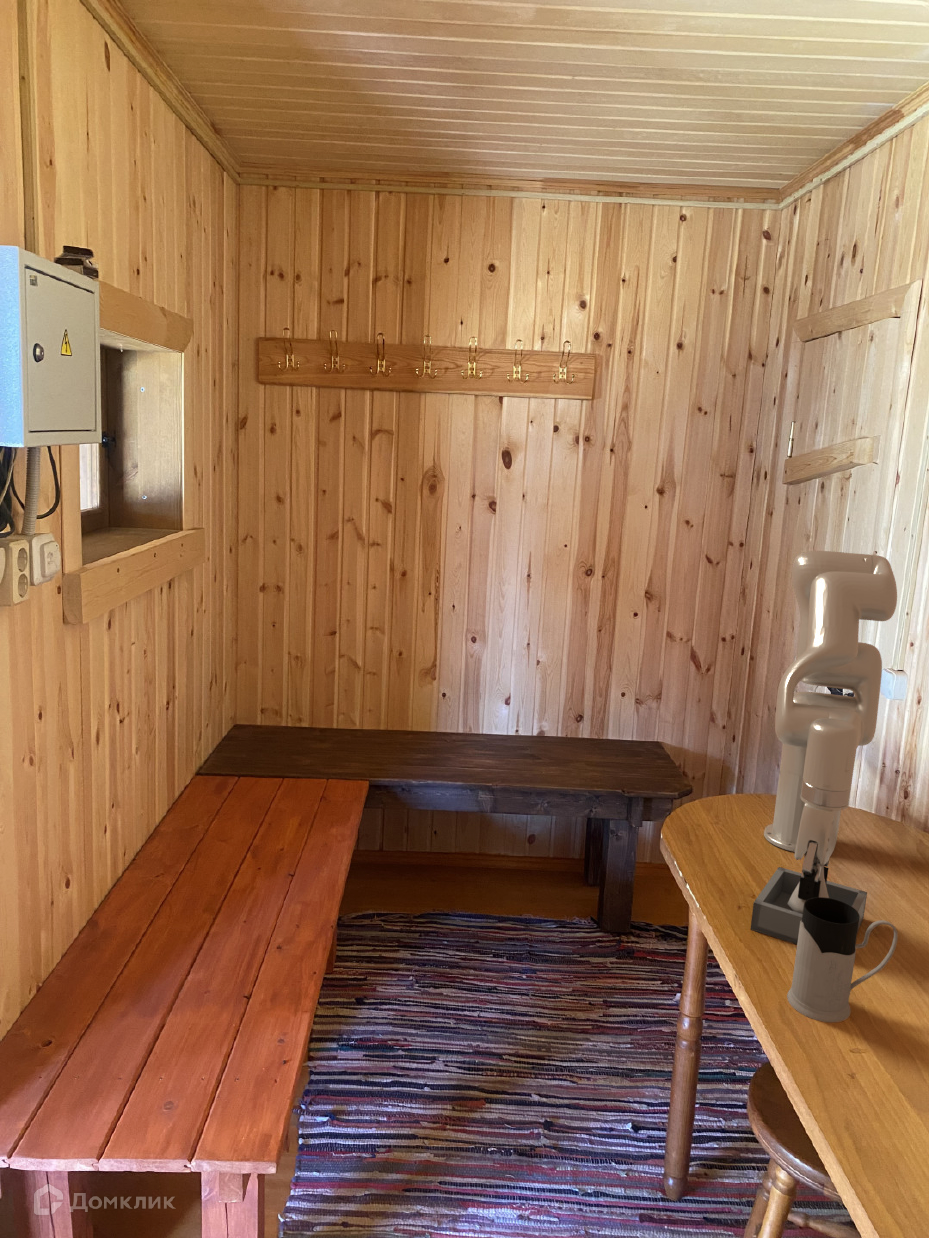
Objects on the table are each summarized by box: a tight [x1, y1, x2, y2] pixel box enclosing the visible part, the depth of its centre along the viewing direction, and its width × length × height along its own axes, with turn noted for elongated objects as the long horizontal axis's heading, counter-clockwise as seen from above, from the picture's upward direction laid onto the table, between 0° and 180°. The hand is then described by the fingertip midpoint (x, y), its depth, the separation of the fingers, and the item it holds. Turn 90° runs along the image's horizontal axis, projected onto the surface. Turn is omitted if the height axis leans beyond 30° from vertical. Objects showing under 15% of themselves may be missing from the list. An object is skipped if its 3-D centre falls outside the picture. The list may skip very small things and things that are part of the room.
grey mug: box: [786, 897, 899, 1023], centre depth 133 cm, size 9×14×15 cm, turn 88°
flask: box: [788, 858, 829, 914], centre depth 155 cm, size 7×7×10 cm
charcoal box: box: [749, 866, 868, 946], centre depth 156 cm, size 16×15×5 cm
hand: (811, 892), depth 156 cm, fingers open, 4 cm apart
